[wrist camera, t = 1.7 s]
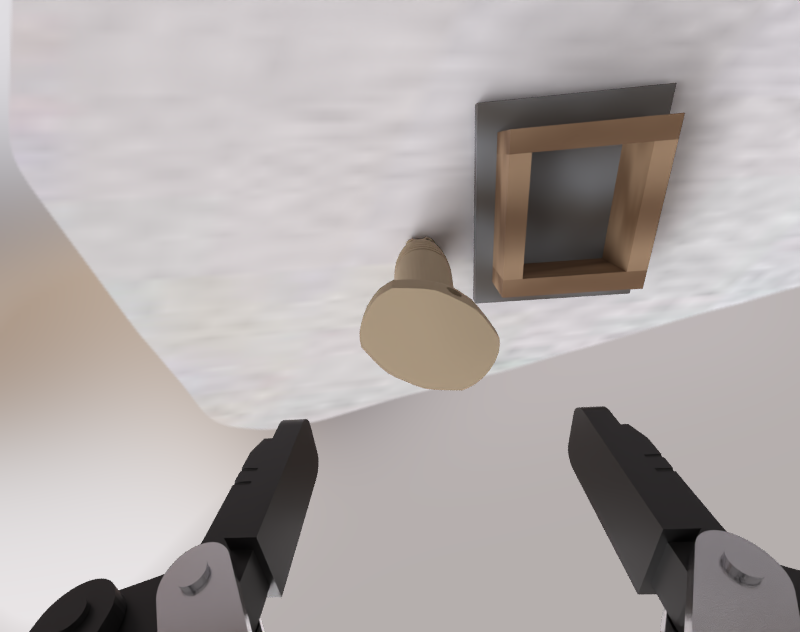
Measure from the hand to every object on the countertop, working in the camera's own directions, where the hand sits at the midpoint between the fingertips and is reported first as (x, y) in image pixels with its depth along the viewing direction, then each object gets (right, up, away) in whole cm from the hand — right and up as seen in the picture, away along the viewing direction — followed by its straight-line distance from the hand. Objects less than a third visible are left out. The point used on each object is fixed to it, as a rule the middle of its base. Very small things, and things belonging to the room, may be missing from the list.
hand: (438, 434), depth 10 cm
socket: (+11, +12, +17) cm, 23 cm away
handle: (+1, +9, +19) cm, 21 cm away
